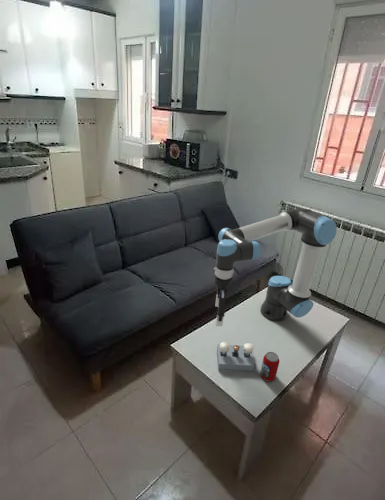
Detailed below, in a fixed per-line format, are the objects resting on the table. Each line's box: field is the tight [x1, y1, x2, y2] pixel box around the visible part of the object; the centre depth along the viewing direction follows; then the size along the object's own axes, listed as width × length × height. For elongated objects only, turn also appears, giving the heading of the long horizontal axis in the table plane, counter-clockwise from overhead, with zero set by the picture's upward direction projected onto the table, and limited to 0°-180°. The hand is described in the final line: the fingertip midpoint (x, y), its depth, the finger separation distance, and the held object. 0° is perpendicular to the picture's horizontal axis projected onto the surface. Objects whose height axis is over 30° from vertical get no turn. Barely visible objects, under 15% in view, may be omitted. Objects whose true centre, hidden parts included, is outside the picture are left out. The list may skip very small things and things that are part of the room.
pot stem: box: [233, 344, 240, 355], centre depth 142 cm, size 3×3×4 cm
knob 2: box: [243, 342, 255, 356], centre depth 142 cm, size 4×4×5 cm
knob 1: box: [219, 341, 231, 354], centre depth 142 cm, size 4×4×5 cm
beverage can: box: [260, 351, 280, 382], centre depth 135 cm, size 7×7×12 cm
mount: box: [216, 344, 256, 373], centre depth 144 cm, size 16×12×4 cm
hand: (218, 315), depth 139 cm, fingers open, 13 cm apart
